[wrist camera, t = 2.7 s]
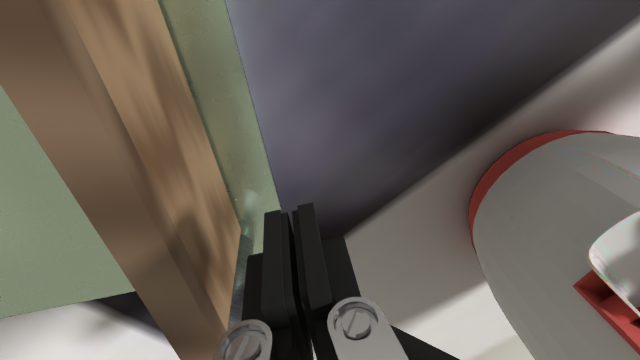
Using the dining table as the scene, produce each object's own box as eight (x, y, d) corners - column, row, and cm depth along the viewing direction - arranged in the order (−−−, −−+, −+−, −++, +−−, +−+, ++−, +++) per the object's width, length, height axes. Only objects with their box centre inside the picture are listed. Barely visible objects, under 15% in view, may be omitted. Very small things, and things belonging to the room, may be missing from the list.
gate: (73, -111, 15) (-212, -241, 6) (118, -120, 15) (-104, -261, 6) (217, 234, 25) (186, 368, 16) (243, 228, 25) (227, 360, 17)
